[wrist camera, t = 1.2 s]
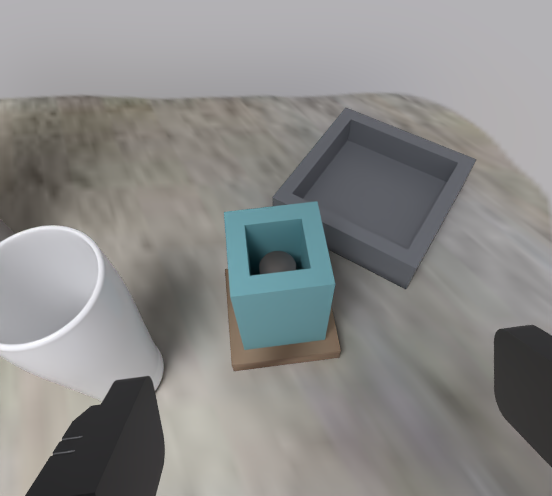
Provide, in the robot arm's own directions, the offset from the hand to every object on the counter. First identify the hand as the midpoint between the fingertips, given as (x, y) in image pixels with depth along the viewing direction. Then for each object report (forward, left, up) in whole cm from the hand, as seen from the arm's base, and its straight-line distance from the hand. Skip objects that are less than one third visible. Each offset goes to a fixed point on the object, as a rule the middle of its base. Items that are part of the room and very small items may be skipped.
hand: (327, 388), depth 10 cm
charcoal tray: (-7, +23, -23) cm, 33 cm away
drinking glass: (-15, -1, -23) cm, 27 cm away
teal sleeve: (-8, +9, -21) cm, 24 cm away
